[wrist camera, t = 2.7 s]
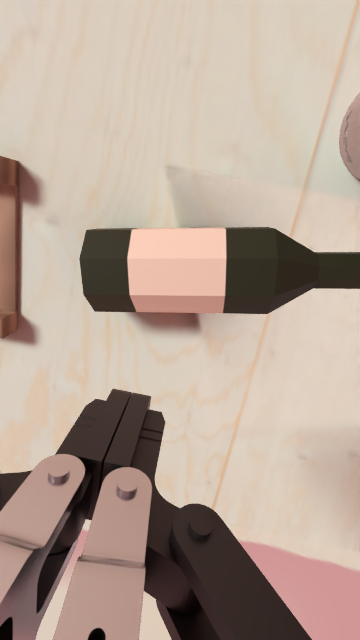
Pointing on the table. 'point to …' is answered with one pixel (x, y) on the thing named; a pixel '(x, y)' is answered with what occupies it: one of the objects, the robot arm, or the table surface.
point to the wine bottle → (205, 270)
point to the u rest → (8, 246)
